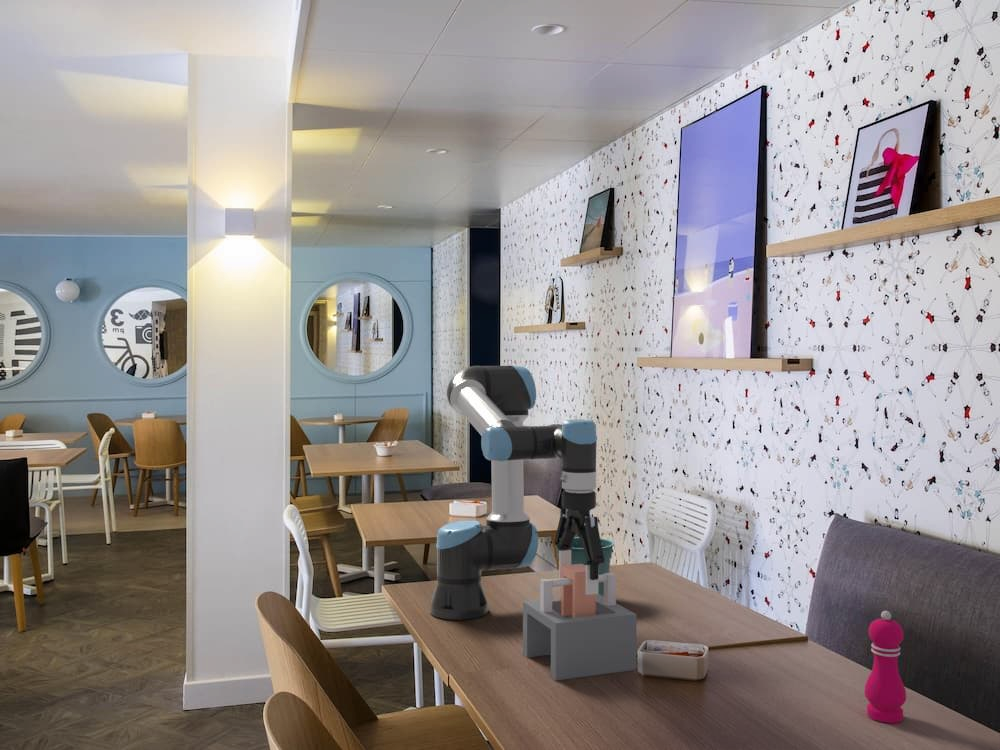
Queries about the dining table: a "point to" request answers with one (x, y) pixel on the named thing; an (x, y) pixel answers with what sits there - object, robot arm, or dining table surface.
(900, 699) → the pepper mill
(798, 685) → the dining table surface
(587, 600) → the coral u-channel block
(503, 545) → the robot arm
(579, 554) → the flower pot
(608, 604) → the gray square frame
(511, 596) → the dining table surface
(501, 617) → the dining table surface
